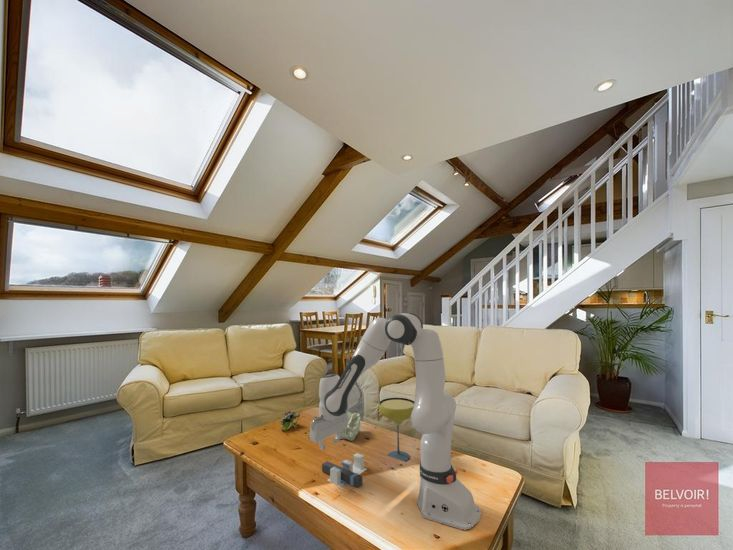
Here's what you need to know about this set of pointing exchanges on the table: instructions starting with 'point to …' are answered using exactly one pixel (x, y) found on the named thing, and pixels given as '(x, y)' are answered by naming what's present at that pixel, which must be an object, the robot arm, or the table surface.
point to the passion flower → (289, 420)
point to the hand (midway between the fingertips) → (329, 445)
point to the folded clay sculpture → (351, 427)
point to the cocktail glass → (397, 418)
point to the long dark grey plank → (344, 474)
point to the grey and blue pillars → (349, 465)
